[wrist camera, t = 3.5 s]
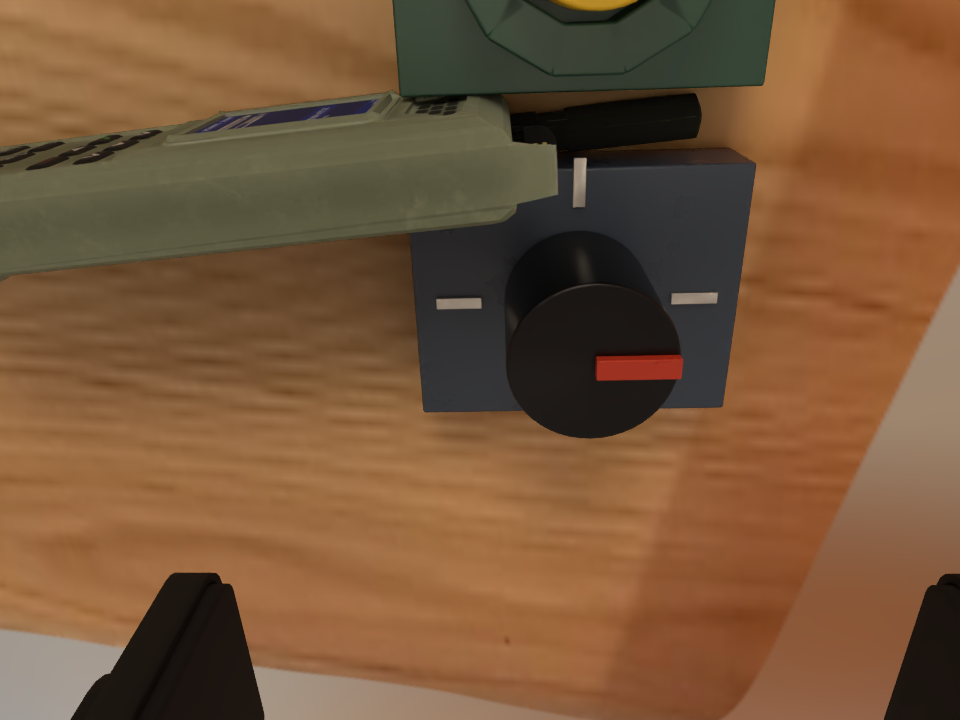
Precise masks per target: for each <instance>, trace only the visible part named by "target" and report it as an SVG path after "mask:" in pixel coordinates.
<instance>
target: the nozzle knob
mask: <svg viewBox="0 0 960 720" xmlns="http://www.w3.org/2000/svg"><path fill="white" fill-rule="evenodd" d="M504 307H505V348H506V372H507V379H508V383H509V386H510V389H511V391H512V394H513V396H514V398H515V399H516V401H517V403H518V404H519V405H520V407H521V408H522V409H523V410H524V412H525V413H526V414H528V415H529V416H530V417H531V418H532V419H533V420H534V421H536V422H537V423H539V424H540V425H542V426H543V427H545V428H547V429H549V430H551V431H553V432H556V433H558V434H562V435H565V436H569V437H576V438H602V437H608V436H613V435H616V434H619V433H623V432H625V431H627V430H630V429H632V428H634V427H636V426H637V425H639V424H641V423H643V422H644V421H645V420H647V419H648V418H650V417H651V416H652V415H653V414H654V413H655V412H656V411H657V410H658V409H659V408H660V407H661V406H662V405H663V404H664V402H665V401H666V400H667V398H668V397H669V395H670V394H671V392H672V390H673V388H674V386H675V384H676V381H677V379H681V378H682V368H683V358H682V356H681V346H680V340H679V337H678V333H677V330H676V328H675V326H674V324H673V322H672V320H671V318H670V316H669V315H668V313H667V311H666V309H665V308H664V306H663V304H662V302H661V300H660V299H659V297H658V295H657V293H656V291H655V290H654V288H653V286H652V284H651V282H650V281H649V279H648V277H647V275H646V274H645V272H644V270H643V268H642V266H641V265H640V263H639V262H638V260H637V258H636V257H635V256H634V255H633V254H632V253H631V251H630V250H628V249H627V248H626V247H625V246H624V245H622V244H621V243H619V242H618V241H616V240H614V239H612V238H610V237H608V236H605V235H602V234H599V233H594V232H588V231H573V232H566V233H561V234H557V235H554V236H552V237H549V238H547V239H545V240H543V241H541V242H539V243H538V244H536V245H535V246H533V247H532V248H531V249H530V250H529V251H527V252H526V253H525V254H524V255H523V256H522V258H521V259H520V260H519V261H518V262H517V264H516V265H515V267H514V268H513V270H512V272H511V274H510V276H509V279H508V282H507V285H506V290H505V300H504Z"/></svg>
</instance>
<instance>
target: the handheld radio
mask: <svg viewBox="0 0 960 720" xmlns="http://www.w3.org/2000/svg"><path fill="white" fill-rule="evenodd" d="M701 116H702V113H701V107H700V104H699V101H698V98H697V95H696V94H695V93H691V94H683V95H674V96H666V97H657V98H649V99H640V100H632V101H623V102H615V103H606V104H598V105H589V106H580V107H572V108H565V111H561V112H552V113H543V114H536V113H535V112H529V113H521V114H512V115H510V114H509V105H508V103H507V101H506V100H505V99H504V98H503V96H502V95H499V94H487V95H456V96H424V97H401V96H399V95H397V94H396V93H395V92H393V91H389V92H385V93H378V94H370V95H362V96H353V97H345V98H337V99H329V100H320V101H312V102H304V103H296V104H287V105H279V106H271V107H263V108H254V109H246V110H238V111H230V112H222V111H220V112H219V113H218V114H216V115H214V116H212V117H210V118H208V119H206V120H197V121H189V122H187V123H184V124H179V125H171V126H163V127H155V128H147V129H140V130H132V131H124V132H116V133H108V134H100V135H92V136H84V137H77V138H69V139H61V140H53V141H45V142H37V143H29V144H21V145H13V146H6V147H0V282H2V281H3V280H5V279H7V278H8V277H10V276H11V275H19V274H29V273H38V272H48V271H57V270H66V269H76V268H85V267H95V266H104V265H113V264H123V263H132V262H142V261H151V260H160V259H170V258H179V257H189V256H198V255H207V254H217V253H226V252H236V251H245V250H254V249H264V248H273V247H283V246H292V245H302V244H311V243H320V242H330V241H339V240H349V239H358V238H367V237H377V236H386V235H396V234H405V233H414V232H424V231H433V230H443V229H452V228H461V227H471V226H480V225H490V224H495V223H500V222H504V221H506V220H507V219H508V218H510V217H511V216H512V215H513V214H515V213H516V208H517V204H519V203H523V202H528V201H532V200H537V199H541V198H545V197H550V196H554V195H558V169H557V151H562V150H568V152H575V151H584V150H593V149H602V148H611V147H620V146H629V145H638V144H647V143H656V142H665V141H673V140H682V139H691V138H696V137H697V135H698V131H699V128H700V124H701Z"/></svg>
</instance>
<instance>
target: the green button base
mask: <svg viewBox="0 0 960 720" xmlns="http://www.w3.org/2000/svg"><path fill="white" fill-rule="evenodd" d="M392 1H393V14H394V27H395V40H396V52H397V65H398V78H399V91H400V96H401V97H424V96H456V95H487V94H519V93H550V92H581V91H613V90H644V89H676V88H707V87H738V86H762V85H763V84H764V80H765V73H766V65H767V58H768V51H769V43H770V36H771V29H772V21H773V14H774V7H775V0H638V1H636V2H634V3H632V4H629V5H627V6H624V7H621V8H617V9H613V10H606V11H578V10H573V9H568V8H565V7H562V6H559V5H557V4H555V3H553V2H551V1H549V0H392Z"/></svg>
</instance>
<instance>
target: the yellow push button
mask: <svg viewBox="0 0 960 720" xmlns="http://www.w3.org/2000/svg"><path fill="white" fill-rule="evenodd" d="M549 1H551V2H553V3H555V4H557V5H559V6H562V7H565V8H568V9H573V10H578V11H606V10H613V9H617V8H621V7H624V6H627V5H629V4H632V3H634V2H636V1H638V0H549Z"/></svg>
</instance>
